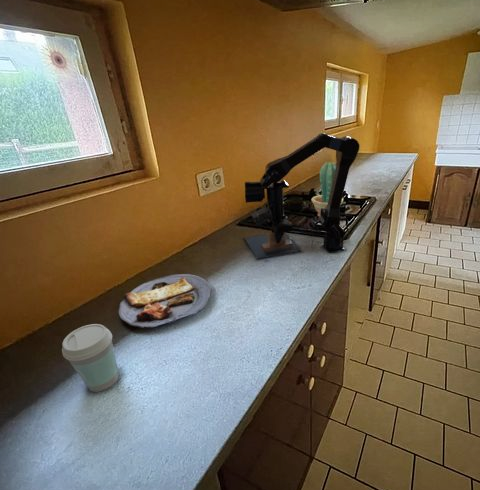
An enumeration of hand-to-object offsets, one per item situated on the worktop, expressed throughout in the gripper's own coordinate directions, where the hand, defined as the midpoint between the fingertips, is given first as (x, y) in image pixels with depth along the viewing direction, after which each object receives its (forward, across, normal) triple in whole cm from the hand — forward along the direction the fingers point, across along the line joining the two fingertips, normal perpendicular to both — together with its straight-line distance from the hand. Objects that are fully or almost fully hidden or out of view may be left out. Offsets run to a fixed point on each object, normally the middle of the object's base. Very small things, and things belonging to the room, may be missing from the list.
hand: (276, 241), depth 111 cm
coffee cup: (+5, +43, -53) cm, 68 cm away
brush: (+4, 0, 0) cm, 4 cm away
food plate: (+5, +19, -40) cm, 45 cm away
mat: (+4, -7, 0) cm, 8 cm away
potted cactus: (+5, -30, +36) cm, 47 cm away
